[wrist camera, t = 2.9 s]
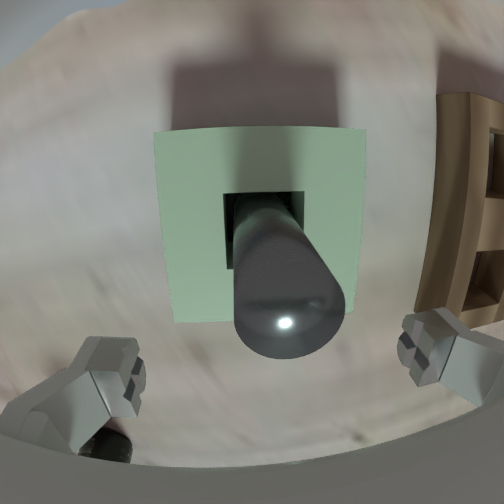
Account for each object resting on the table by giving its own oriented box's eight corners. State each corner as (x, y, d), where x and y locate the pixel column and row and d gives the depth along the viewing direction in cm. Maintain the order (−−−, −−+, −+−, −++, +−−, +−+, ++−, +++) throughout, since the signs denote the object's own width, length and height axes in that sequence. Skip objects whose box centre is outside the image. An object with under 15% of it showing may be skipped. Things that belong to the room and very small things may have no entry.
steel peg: (282, 186, 22) (351, 260, 9) (282, 233, 23) (338, 353, 10) (232, 187, 22) (230, 266, 9) (234, 235, 23) (236, 362, 10)
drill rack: (507, 116, 20) (538, 119, 16) (481, 299, 27) (504, 319, 23) (436, 94, 20) (469, 91, 16) (413, 311, 27) (436, 336, 23)
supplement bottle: (94, 448, 33) (75, 514, 22) (79, 420, 31) (52, 493, 20) (138, 457, 34) (125, 528, 22) (127, 430, 31) (107, 510, 20)
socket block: (338, 130, 21) (365, 129, 16) (332, 280, 25) (352, 312, 20) (171, 133, 20) (153, 132, 16) (184, 287, 25) (174, 322, 20)
